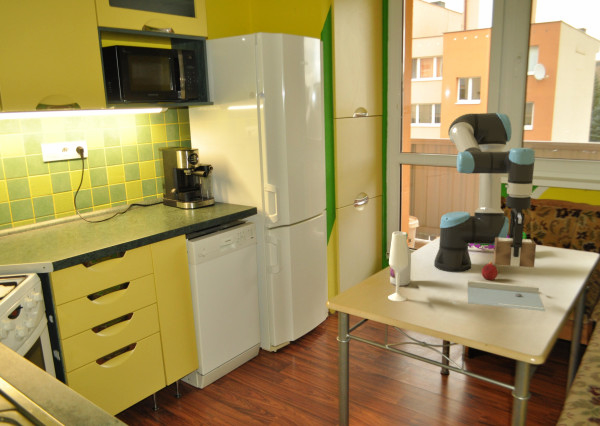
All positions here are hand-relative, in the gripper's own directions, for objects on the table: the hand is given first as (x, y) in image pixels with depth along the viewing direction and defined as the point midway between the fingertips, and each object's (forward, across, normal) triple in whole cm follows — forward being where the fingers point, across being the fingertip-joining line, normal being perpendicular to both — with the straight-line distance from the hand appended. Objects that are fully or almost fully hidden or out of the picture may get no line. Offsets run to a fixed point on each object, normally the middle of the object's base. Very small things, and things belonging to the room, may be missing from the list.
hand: (513, 262), depth 168 cm
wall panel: (+15, -4, -2) cm, 16 cm away
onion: (+15, -23, -5) cm, 28 cm away
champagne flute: (+15, +3, -38) cm, 41 cm away
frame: (0, 0, 0) cm, 0 cm away
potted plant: (+15, -64, -1) cm, 66 cm away
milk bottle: (+15, -13, -39) cm, 43 cm away
